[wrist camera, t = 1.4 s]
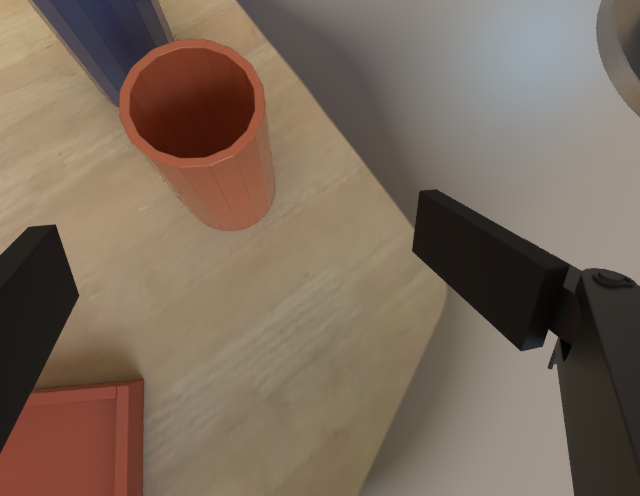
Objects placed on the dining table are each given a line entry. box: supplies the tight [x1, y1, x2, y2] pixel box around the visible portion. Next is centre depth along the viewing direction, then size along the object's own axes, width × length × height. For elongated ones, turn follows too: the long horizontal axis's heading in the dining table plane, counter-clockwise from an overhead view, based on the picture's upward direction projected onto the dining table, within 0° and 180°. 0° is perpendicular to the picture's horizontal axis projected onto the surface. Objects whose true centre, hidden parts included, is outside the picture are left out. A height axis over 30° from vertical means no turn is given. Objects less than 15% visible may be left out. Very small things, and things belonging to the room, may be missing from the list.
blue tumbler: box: [27, 0, 174, 107], centre depth 26 cm, size 7×7×12 cm
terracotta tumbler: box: [119, 40, 275, 231], centre depth 25 cm, size 7×7×12 cm
